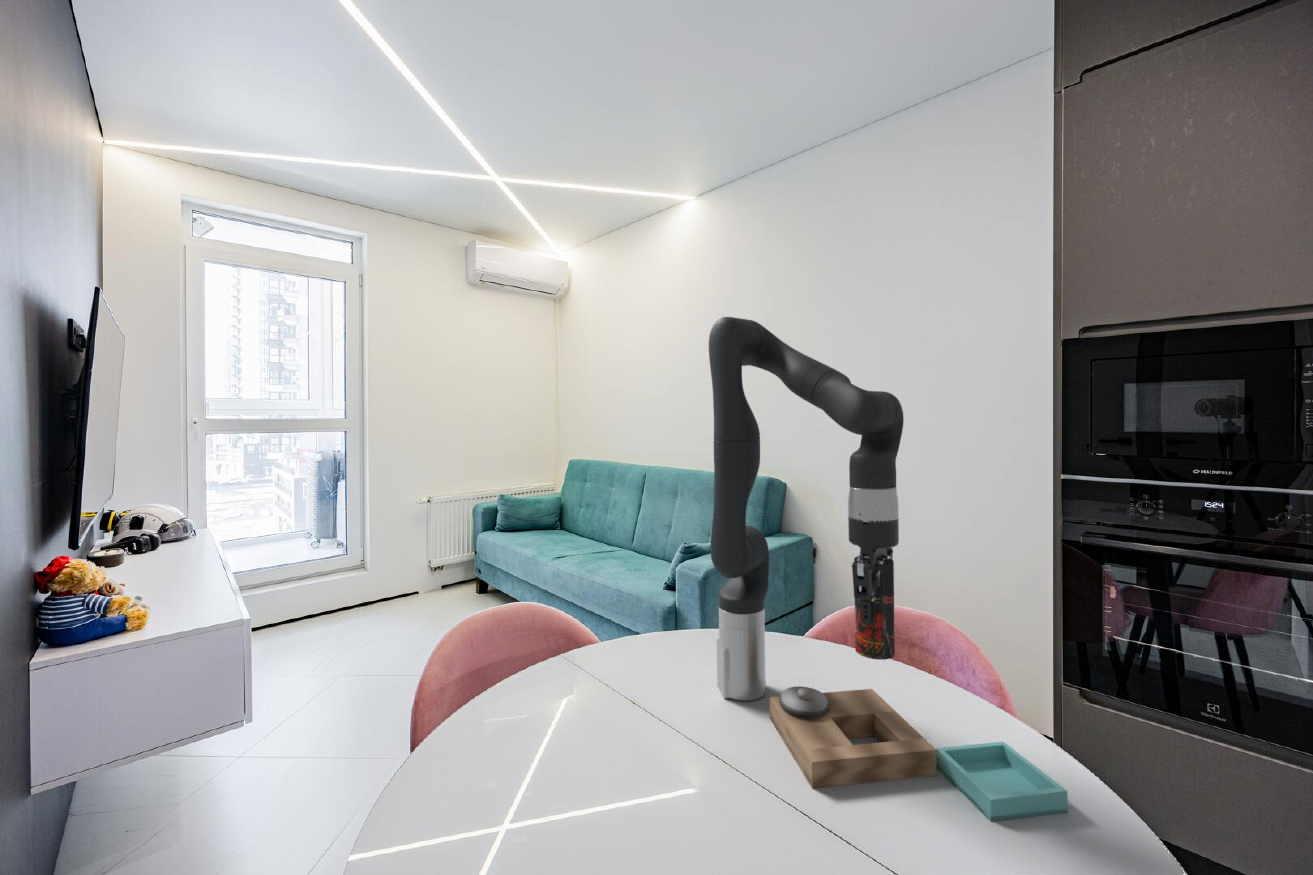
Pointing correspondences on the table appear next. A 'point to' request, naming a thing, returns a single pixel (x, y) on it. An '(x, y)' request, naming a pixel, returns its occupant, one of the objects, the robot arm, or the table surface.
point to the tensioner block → (831, 718)
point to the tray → (1001, 781)
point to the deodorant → (878, 618)
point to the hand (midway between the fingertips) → (874, 617)
